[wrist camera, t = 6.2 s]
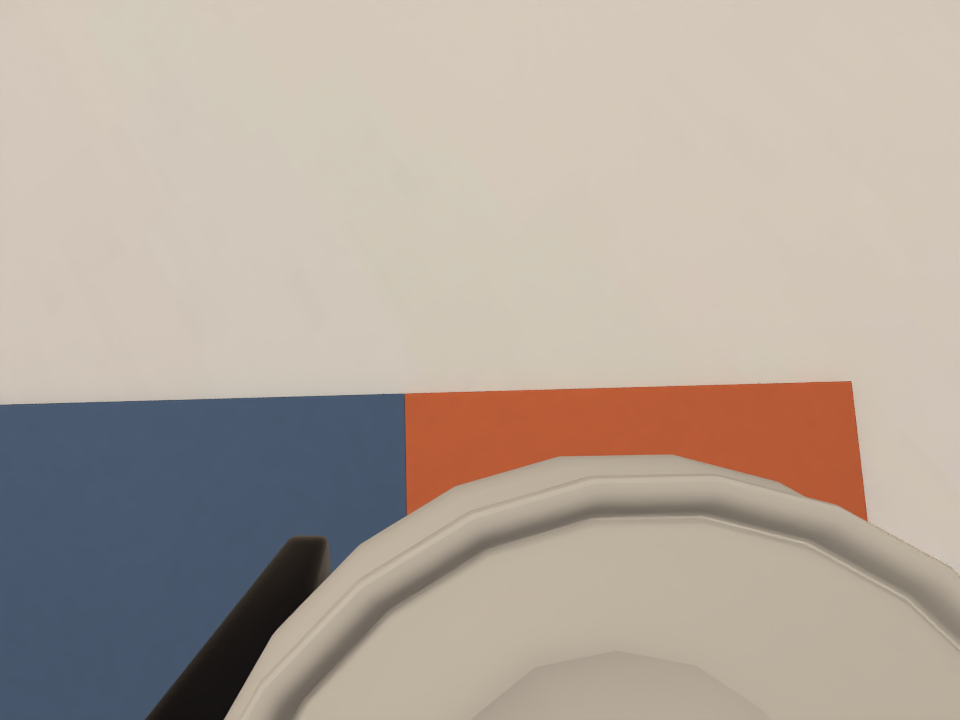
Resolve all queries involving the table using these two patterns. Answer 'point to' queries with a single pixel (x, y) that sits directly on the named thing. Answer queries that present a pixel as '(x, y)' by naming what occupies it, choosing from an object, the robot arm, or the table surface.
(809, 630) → the beverage can
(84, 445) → the sorting mat
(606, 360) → the table surface
